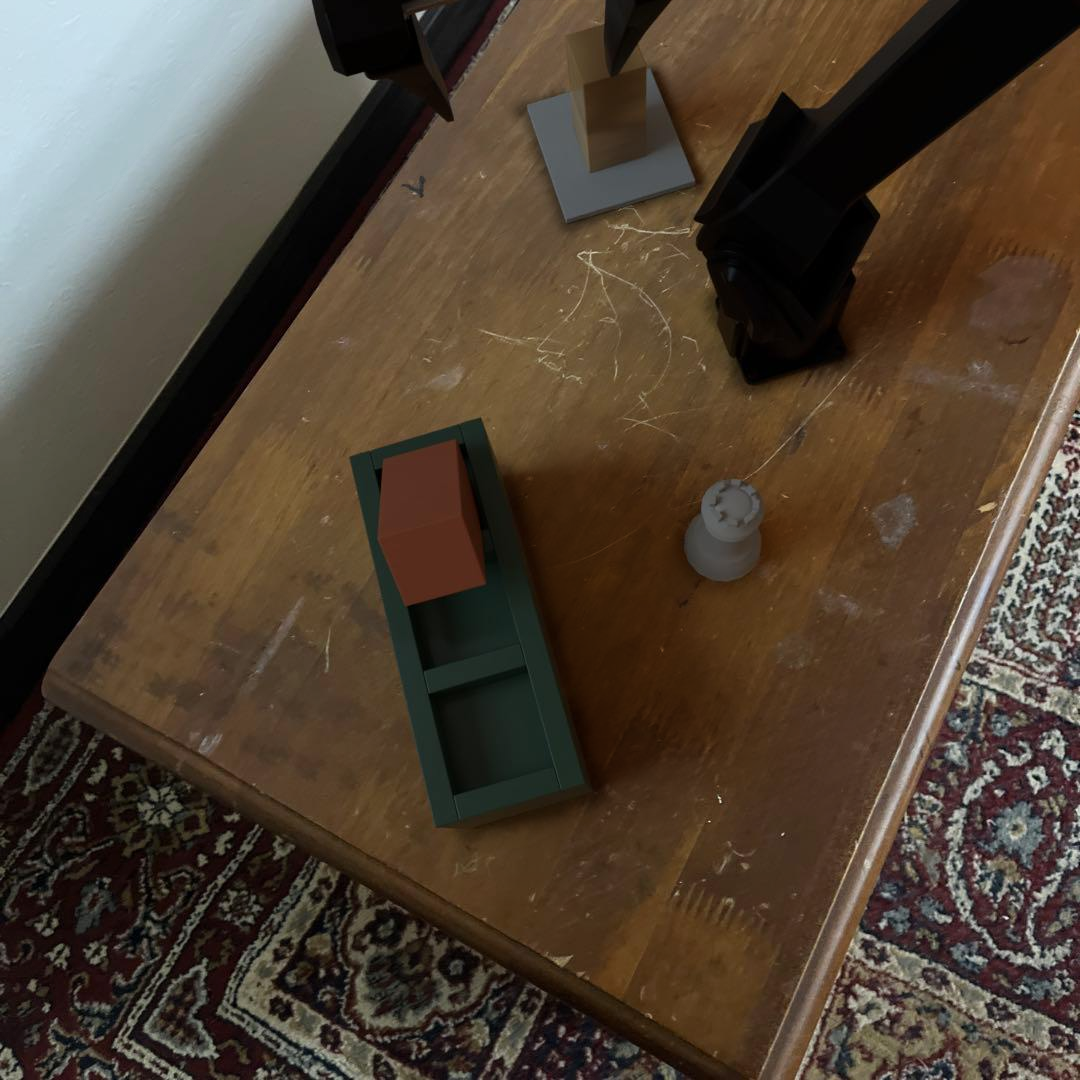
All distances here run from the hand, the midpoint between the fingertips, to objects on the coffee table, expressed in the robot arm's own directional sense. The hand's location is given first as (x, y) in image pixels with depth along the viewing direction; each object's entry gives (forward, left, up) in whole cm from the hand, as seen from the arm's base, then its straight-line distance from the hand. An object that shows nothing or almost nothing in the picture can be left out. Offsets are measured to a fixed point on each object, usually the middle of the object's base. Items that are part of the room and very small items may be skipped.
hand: (530, 92), depth 52 cm
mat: (-6, -5, -12) cm, 15 cm away
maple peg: (-6, -5, -8) cm, 11 cm away
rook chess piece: (-4, +24, -13) cm, 28 cm away
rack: (+11, +26, -12) cm, 31 cm away
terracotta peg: (+11, +22, -2) cm, 24 cm away
